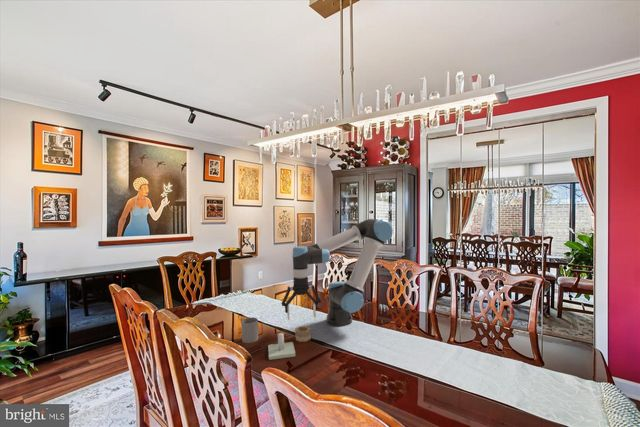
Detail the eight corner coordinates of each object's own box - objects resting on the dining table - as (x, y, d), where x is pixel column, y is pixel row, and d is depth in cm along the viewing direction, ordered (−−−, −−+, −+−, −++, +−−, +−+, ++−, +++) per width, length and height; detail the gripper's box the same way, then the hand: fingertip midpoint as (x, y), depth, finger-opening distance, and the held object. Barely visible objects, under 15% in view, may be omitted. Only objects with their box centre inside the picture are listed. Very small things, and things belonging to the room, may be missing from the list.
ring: (309, 334, 163) (308, 325, 162) (311, 340, 155) (311, 330, 155) (295, 336, 161) (294, 327, 161) (296, 342, 154) (296, 332, 154)
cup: (254, 343, 155) (253, 323, 155) (239, 342, 157) (238, 323, 156) (260, 336, 163) (260, 317, 163) (246, 335, 165) (245, 317, 165)
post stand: (292, 345, 151) (292, 327, 151) (295, 356, 139) (294, 337, 139) (268, 348, 149) (267, 330, 149) (268, 359, 137) (268, 341, 137)
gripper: (322, 273, 163) (323, 313, 164) (275, 276, 159) (276, 317, 159) (325, 276, 156) (326, 317, 156) (276, 279, 151) (277, 322, 152)
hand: (301, 317), depth 158 cm, fingers open, 13 cm apart
